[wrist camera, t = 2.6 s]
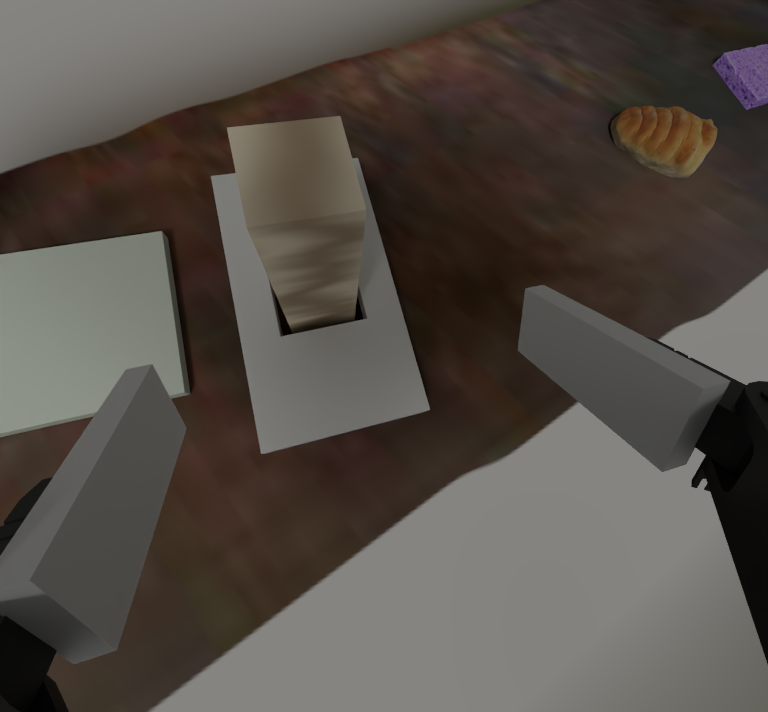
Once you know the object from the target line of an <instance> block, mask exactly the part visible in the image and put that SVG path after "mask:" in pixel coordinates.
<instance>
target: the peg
mask: <svg viewBox="0 0 768 712" xmlns="http://www.w3.org/2000/svg"><path fill="white" fill-rule="evenodd" d="M227 131H228V136H229V141H230V146H231V151H232V156H233V161H234V166H235V171H236V176H237V181H238V186H239V191H240V196H241V201H242V207H243V212H244V217H245V222H246V227H247V230H248V232H249V234H250V237H251V239H252V241H253V244H254V246H255V248H256V250H257V253H258V255H259V257H260V260H261V262H262V264H263V267H264V269H265V271H266V273H267V276H268V278H269V280H270V283H271V285H272V287H273V290H274V292H275V294H276V296H277V299H278V301H279V303H280V306H281V308H282V310H283V313H284V315H285V317H286V319H287V322H288V324H289V326H290V329H291V331H292V333H296V332H301V331H306V330H311V329H316V328H320V327H325V326H330V325H335V324H340V323H345V322H349V321H354V319H355V310H356V301H357V292H358V283H359V274H360V265H361V256H362V247H363V238H364V229H365V220H366V211H367V209H366V206H365V202H364V199H363V195H362V192H361V188H360V185H359V181H358V177H357V174H356V170H355V167H354V163H353V160H352V156H351V153H350V149H349V146H348V142H347V139H346V135H345V131H344V128H343V124H342V121H341V117H340V116H335V117H326V118H316V119H306V120H296V121H287V122H277V123H267V124H257V125H248V126H238V127H228V128H227Z"/></svg>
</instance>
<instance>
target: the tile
mask: <svg viewBox="0 0 768 712" xmlns="http://www.w3.org/2000/svg"><path fill="white" fill-rule="evenodd" d="M149 364H153V366H154V368H155V370H156V372H157V374H158V376H159V377H160V379H161V381H162V383H163V385H164V387H165V389H166V391H167V392H168V394H169V396H170V398H171V399H172V398H176V397H181V396H185V395H190V387H189V380H188V374H187V367H186V360H185V353H184V346H183V339H182V332H181V325H180V318H179V311H178V304H177V297H176V291H175V284H174V277H173V270H172V263H171V256H170V249H169V242H168V238H167V236H166V235H165V234H164V233H163V232H162V231H158V232H151V233H145V234H138V235H131V236H124V237H117V238H111V239H104V240H97V241H90V242H83V243H77V244H70V245H63V246H56V247H49V248H43V249H36V250H29V251H22V252H15V253H9V254H2V255H0V437H3V436H8V435H12V434H17V433H21V432H26V431H30V430H34V429H39V428H43V427H48V426H52V425H57V424H61V423H65V422H70V421H74V420H79V419H83V418H88V417H92V416H95V414H96V413H97V411H98V410H99V408H100V407H101V405H102V404H103V402H104V401H105V399H106V398H107V396H108V395H109V393H110V392H111V390H112V389H113V388H114V386H115V385H116V383H117V382H118V380H119V379H120V377H121V376H122V374H123V373H124V371H125V370H126V369H130V368H135V367H140V366H145V365H149Z"/></svg>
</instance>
